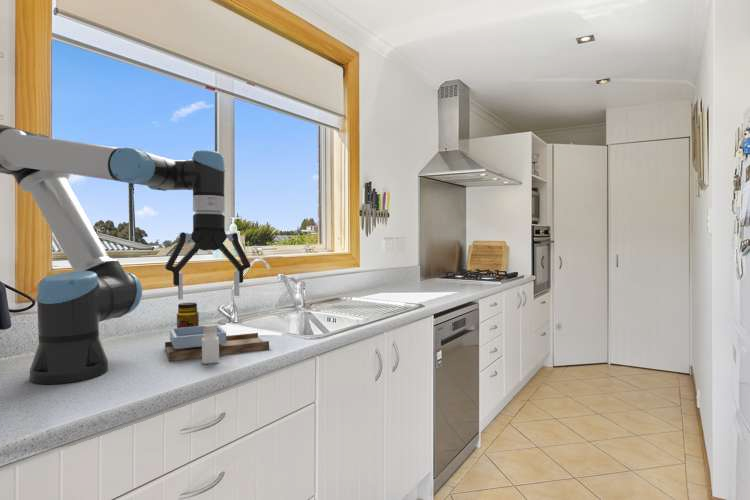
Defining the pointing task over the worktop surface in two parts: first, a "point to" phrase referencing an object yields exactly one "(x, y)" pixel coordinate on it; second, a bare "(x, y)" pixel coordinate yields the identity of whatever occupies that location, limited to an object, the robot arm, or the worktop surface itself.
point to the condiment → (187, 315)
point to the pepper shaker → (210, 344)
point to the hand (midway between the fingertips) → (209, 297)
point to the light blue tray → (192, 337)
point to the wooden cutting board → (220, 347)
